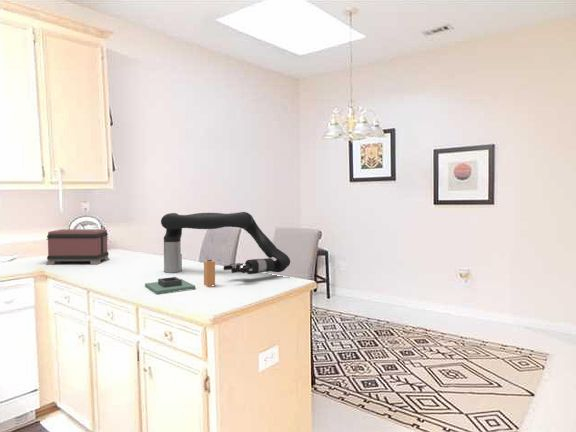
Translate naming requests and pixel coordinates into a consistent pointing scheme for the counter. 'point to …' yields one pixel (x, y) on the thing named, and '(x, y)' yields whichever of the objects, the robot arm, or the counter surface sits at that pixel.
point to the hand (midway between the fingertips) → (227, 269)
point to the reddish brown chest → (77, 245)
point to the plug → (209, 273)
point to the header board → (169, 285)
